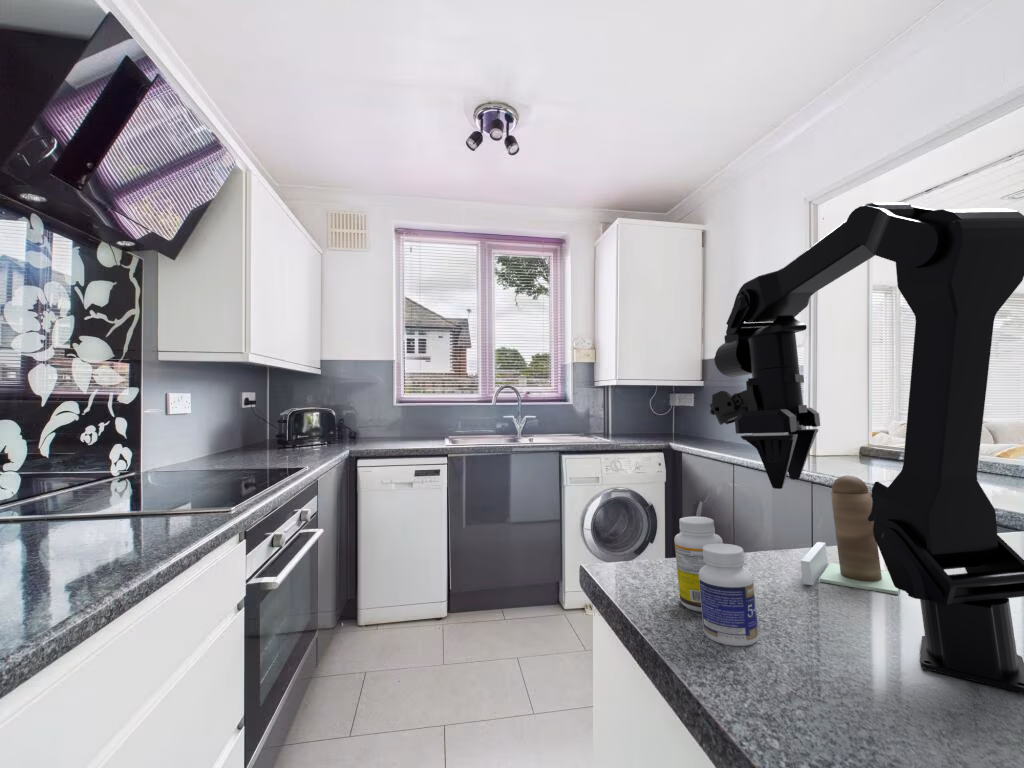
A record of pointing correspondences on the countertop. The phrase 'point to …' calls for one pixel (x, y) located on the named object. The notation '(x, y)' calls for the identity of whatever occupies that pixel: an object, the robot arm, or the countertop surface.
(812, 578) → the rail
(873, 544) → the pepper mill
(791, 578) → the countertop surface
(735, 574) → the pill bottle
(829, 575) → the coaster
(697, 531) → the supplement bottle
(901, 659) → the countertop surface
